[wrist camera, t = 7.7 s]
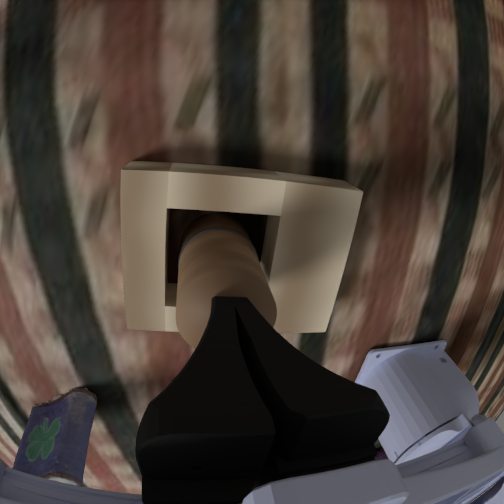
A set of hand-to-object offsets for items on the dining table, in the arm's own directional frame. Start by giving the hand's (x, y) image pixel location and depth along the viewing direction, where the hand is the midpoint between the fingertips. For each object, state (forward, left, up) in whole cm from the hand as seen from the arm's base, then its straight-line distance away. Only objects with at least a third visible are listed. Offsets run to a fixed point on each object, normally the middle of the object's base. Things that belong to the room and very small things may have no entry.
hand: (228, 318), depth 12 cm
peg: (0, 0, -7) cm, 7 cm away
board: (-1, 0, -7) cm, 7 cm away
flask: (+13, +16, -7) cm, 22 cm away
